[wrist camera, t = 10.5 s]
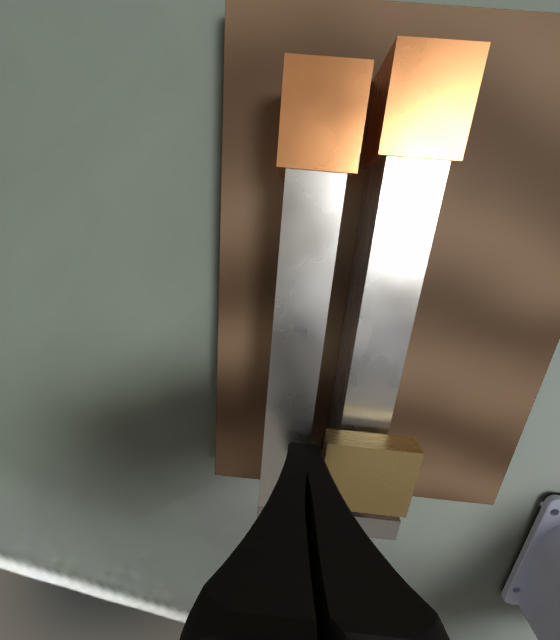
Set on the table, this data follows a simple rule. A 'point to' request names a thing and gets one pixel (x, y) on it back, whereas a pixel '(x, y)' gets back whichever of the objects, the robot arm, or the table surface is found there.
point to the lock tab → (373, 469)
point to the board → (446, 250)
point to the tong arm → (400, 214)
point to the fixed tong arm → (311, 246)
